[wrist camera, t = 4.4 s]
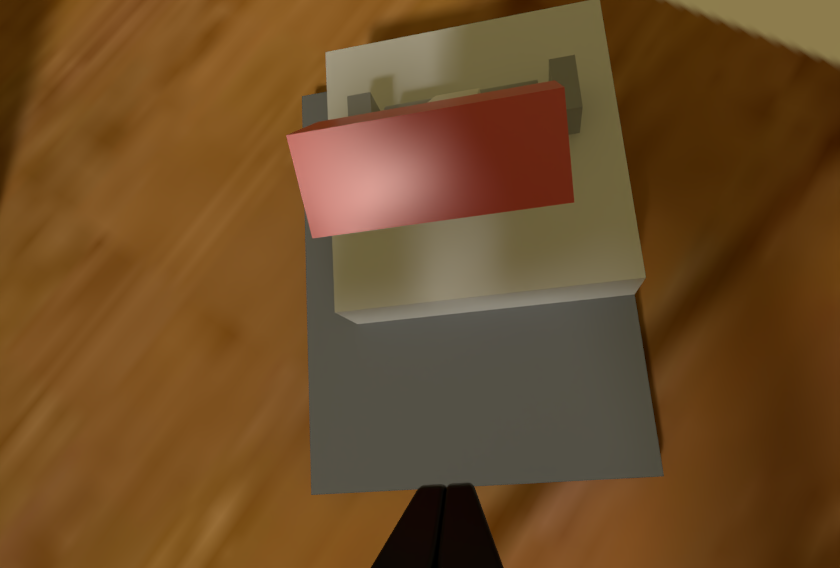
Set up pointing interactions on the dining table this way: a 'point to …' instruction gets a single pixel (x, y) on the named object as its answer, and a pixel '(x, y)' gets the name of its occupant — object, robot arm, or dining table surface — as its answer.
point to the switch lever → (436, 159)
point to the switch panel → (483, 290)
